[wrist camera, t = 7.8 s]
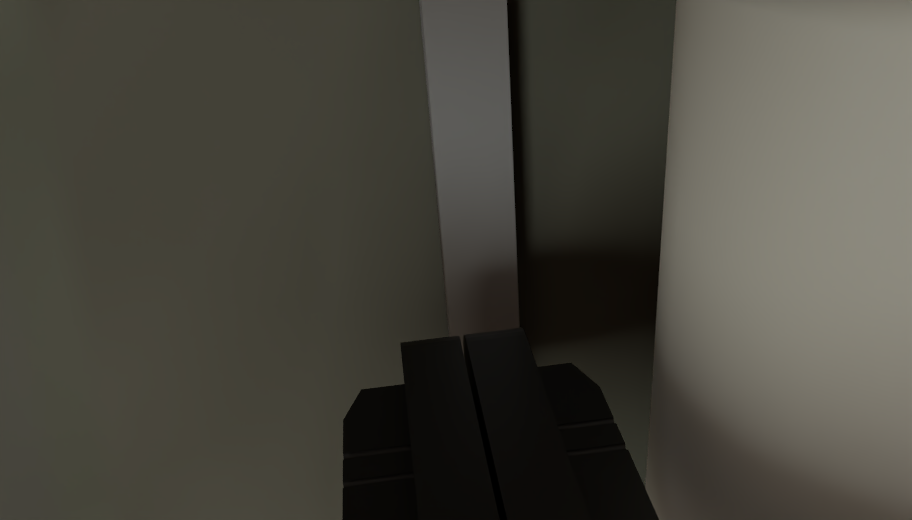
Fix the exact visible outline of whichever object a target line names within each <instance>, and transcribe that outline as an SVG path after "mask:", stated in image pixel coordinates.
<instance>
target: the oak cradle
mask: <svg viewBox="0 0 912 520" xmlns="http://www.w3.org/2000/svg"><path fill="white" fill-rule="evenodd" d="M419 4H420V15H421V27H422V38H423V49H424V61H425V72H426V83H427V94H428V106H429V117H430V128H431V140H432V151H433V162H434V173H435V185H436V196H437V207H438V219H439V230H440V241H441V252H442V264H443V275H444V286H445V298H446V309H447V320H448V332H449V337H451V336H459V337H460V340H461V345H462V349H463V354H464V347H463V336H464V335H466V334H474V333H482V332H490V331H498V330H506V329H515V328H520V324H519V299H518V273H517V248H516V222H515V197H514V171H513V146H512V120H511V95H510V69H509V44H508V18H507V0H419Z"/></svg>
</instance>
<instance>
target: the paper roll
mask: <svg viewBox="0 0 912 520" xmlns="http://www.w3.org/2000/svg"><path fill="white" fill-rule="evenodd" d="M645 489H646V491H647V494H648V496H649V498H650V500H651V502H652V505H653V507H654V509H655V511H656V514H657V516H658V518H659V520H912V0H676V15H675V31H674V47H673V62H672V78H671V94H670V109H669V125H668V140H667V156H666V172H665V187H664V203H663V219H662V234H661V250H660V266H659V281H658V297H657V312H656V328H655V344H654V359H653V375H652V391H651V406H650V422H649V438H648V453H647V469H646V484H645Z"/></svg>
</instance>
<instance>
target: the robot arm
mask: <svg viewBox="0 0 912 520" xmlns="http://www.w3.org/2000/svg"><path fill="white" fill-rule="evenodd" d="M463 347H464V354H463V349H462V345H461V340H460V337H459V336H451V337H443V338H435V339H427V340H419V341H411V342H403V343H401V353H402V363H403V373H404V383H405V384H402V385H394V386H386V387H378V388H370V389H362V390H361V391H360V393H359V394H358V396H357V398H356V400H355V401H354V403H353V405H352V406H351V408H350V410H349V411H348V413H347V415H346V416H345V418H344V420H343V456H344V460H343V486H344V488H343V520H659V518H658V516H657V514H656V511H655V509H654V507H653V505H652V502H651V500H650V498H649V496H648V494H647V491H646V489H645V487H644V485H643V482H642V480H641V478H640V476H639V473H638V471H637V469H636V467H635V464H634V462H633V460H632V458H631V456H630V453H629V451H628V450H626V448H625V442H624V440H623V438H622V435H621V433H620V431H619V429H618V427H617V424H616V423H615V424H614V420H613V415H612V413H611V411H610V409H609V406H608V404H607V402H606V400H605V398H604V395H603V393H602V391H601V389H600V387H599V386H598V385H597V384H596V383H595V382H593V381H592V380H591V379H590V378H589V377H587V376H586V375H585V374H584V373H583V372H581V371H580V370H579V369H578V368H577V367H575V366H574V365H573V364H572V363H566V364H558V365H550V366H542V367H537V365H536V363H535V360H534V357H533V354H532V351H531V348H530V345H529V343H528V340H527V337H526V334H525V331H524V330H523V328H515V329H506V330H498V331H490V332H482V333H474V334H466V335H464V336H463Z"/></svg>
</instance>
